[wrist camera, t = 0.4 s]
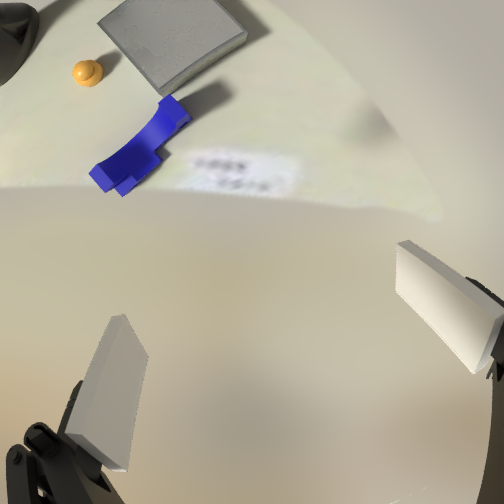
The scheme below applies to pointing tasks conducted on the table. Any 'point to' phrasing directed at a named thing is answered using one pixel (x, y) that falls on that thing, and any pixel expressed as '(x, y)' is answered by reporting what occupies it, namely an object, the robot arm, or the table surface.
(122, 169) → the cable clip
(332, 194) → the table surface
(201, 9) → the grey square plate
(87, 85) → the chess pawn
